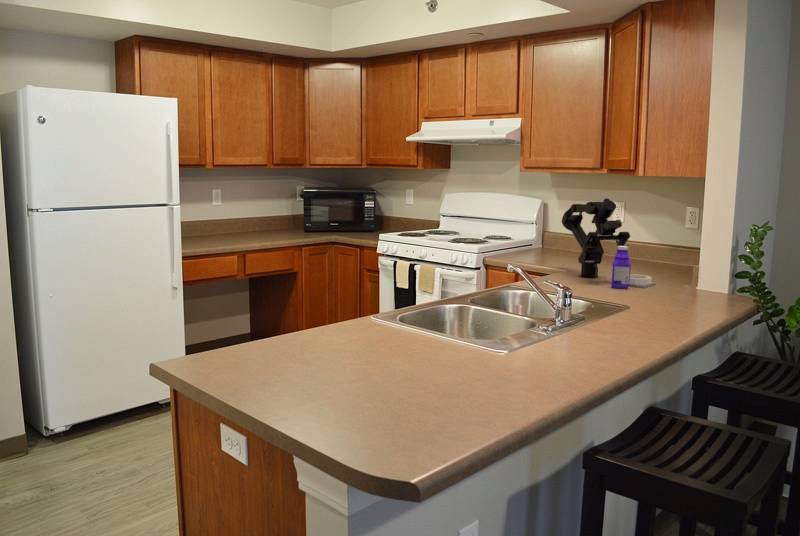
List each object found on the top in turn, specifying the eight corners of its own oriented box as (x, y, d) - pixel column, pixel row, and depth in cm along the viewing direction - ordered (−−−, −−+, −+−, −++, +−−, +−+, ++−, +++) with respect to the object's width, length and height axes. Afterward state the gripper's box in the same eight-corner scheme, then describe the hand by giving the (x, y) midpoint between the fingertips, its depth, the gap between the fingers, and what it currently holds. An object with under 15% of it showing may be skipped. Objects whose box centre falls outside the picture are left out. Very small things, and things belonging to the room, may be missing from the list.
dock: (613, 284, 287) (614, 276, 286) (627, 281, 296) (627, 273, 296) (643, 288, 278) (644, 280, 277) (656, 284, 287) (656, 276, 287)
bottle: (627, 286, 281) (629, 245, 278) (630, 289, 275) (633, 247, 273) (609, 286, 282) (611, 245, 279) (612, 288, 276) (614, 246, 274)
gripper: (589, 213, 285) (600, 242, 276) (629, 213, 289) (641, 241, 280) (580, 229, 294) (590, 258, 285) (619, 229, 298) (630, 257, 289)
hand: (613, 253), depth 285 cm, fingers open, 9 cm apart
